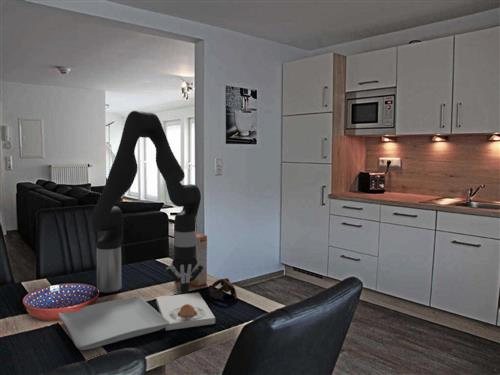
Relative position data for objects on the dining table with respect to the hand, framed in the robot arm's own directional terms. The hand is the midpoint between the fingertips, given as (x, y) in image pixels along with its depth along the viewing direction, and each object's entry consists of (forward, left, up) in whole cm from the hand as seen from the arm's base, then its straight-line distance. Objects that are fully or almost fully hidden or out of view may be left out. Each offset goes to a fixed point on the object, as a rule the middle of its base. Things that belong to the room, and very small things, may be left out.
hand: (184, 292), depth 137 cm
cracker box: (+9, +33, -8) cm, 35 cm away
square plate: (-23, -3, -8) cm, 25 cm away
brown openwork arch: (+18, +11, -8) cm, 23 cm away
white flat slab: (0, +2, -8) cm, 8 cm away
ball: (0, -4, -5) cm, 7 cm away
